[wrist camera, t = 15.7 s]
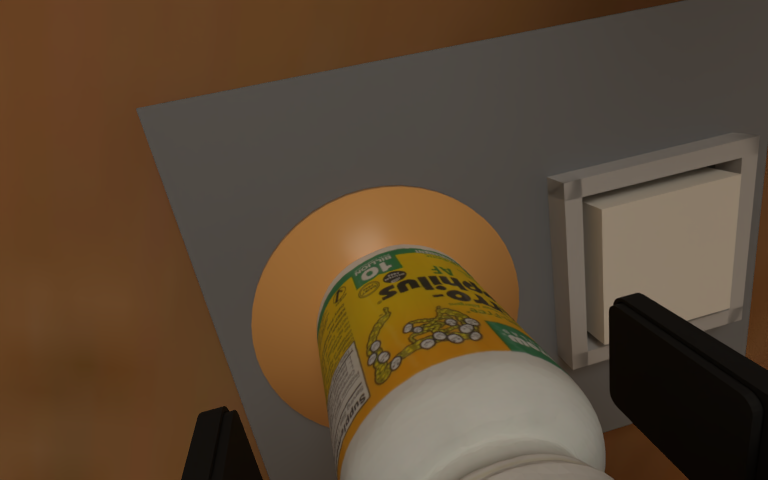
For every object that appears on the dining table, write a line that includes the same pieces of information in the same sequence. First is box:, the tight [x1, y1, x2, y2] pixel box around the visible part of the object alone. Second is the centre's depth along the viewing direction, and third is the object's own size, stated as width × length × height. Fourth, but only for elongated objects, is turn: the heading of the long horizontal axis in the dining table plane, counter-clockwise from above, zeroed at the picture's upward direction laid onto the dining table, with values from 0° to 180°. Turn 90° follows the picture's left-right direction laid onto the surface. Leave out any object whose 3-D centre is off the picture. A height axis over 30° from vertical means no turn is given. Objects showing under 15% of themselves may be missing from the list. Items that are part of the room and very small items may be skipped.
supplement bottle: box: [317, 244, 614, 480], centre depth 11 cm, size 5×5×10 cm
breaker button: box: [582, 167, 741, 345], centre depth 17 cm, size 5×5×3 cm
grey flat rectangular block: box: [136, 0, 768, 480], centre depth 17 cm, size 20×16×3 cm
